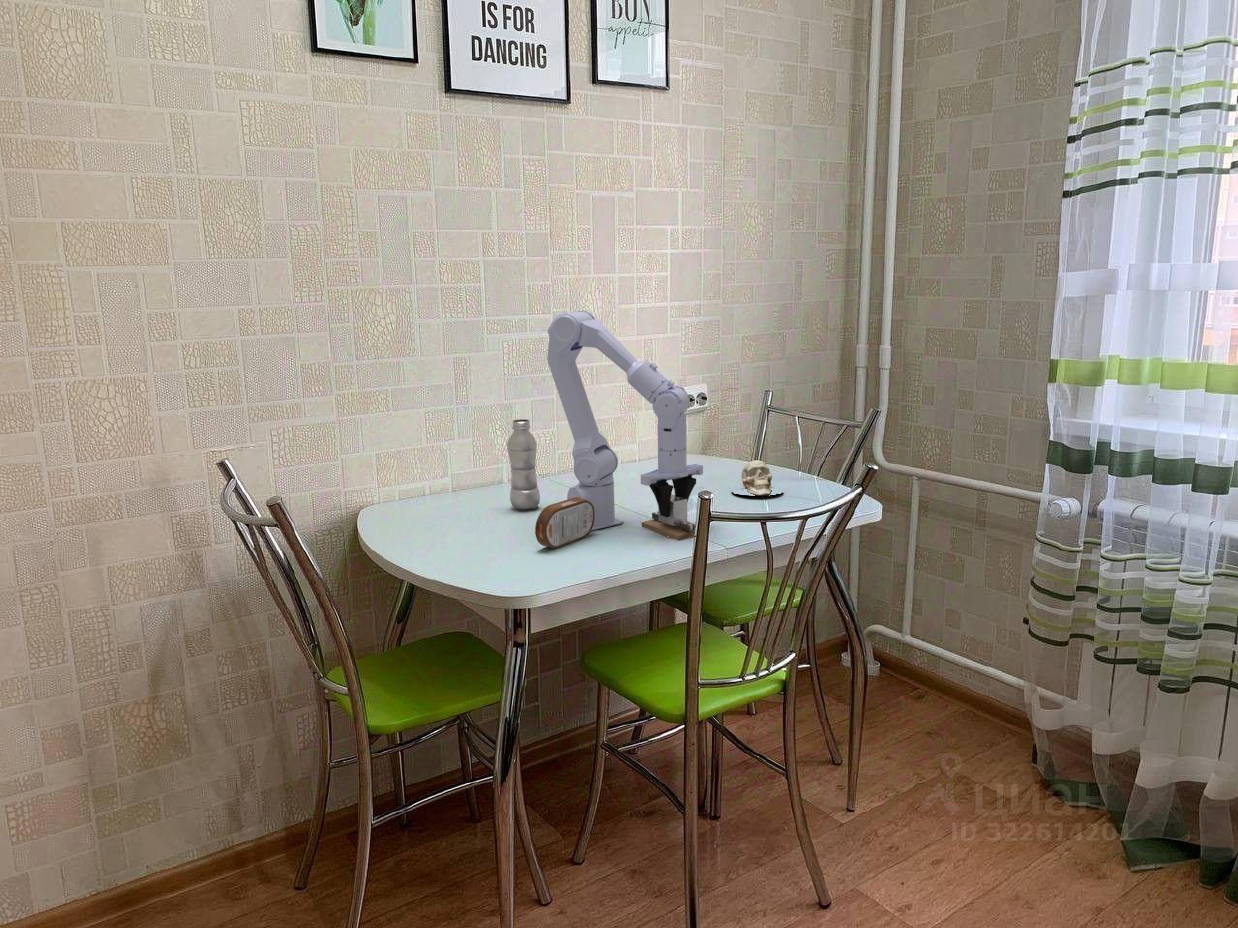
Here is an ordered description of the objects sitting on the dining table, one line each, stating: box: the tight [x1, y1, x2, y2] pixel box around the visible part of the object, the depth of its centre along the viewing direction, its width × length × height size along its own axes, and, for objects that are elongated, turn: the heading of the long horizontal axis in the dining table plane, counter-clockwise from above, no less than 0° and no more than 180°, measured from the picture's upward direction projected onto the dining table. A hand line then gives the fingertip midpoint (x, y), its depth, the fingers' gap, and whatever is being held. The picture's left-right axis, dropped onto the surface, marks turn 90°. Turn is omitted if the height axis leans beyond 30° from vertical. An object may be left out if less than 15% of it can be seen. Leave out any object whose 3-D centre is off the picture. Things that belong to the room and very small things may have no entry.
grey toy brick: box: [657, 494, 688, 526], centre depth 186 cm, size 4×5×6 cm
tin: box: [534, 497, 595, 549], centre depth 180 cm, size 15×3×8 cm, turn 141°
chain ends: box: [651, 511, 696, 532], centre depth 187 cm, size 2×12×2 cm, turn 35°
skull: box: [741, 460, 773, 496], centre depth 213 cm, size 12×12×8 cm
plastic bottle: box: [506, 418, 541, 511], centre depth 203 cm, size 6×7×20 cm
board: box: [641, 519, 697, 541], centre depth 187 cm, size 7×12×1 cm, turn 35°
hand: (672, 514), depth 186 cm, fingers closed on grey toy brick, 3 cm apart
